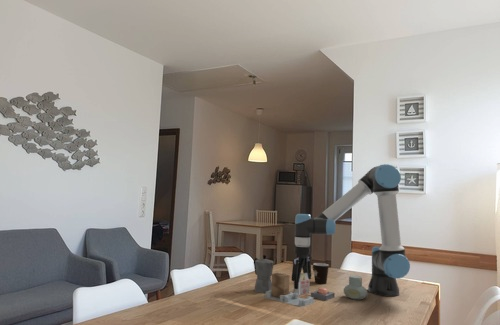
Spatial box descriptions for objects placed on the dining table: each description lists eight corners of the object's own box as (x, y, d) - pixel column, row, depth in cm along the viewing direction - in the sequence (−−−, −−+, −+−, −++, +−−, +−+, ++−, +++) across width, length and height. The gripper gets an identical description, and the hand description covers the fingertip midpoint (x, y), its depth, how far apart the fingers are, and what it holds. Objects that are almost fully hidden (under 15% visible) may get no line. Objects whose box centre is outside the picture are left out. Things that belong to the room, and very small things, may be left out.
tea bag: (293, 294, 175) (294, 273, 176) (303, 293, 179) (304, 272, 180) (299, 296, 172) (299, 274, 173) (309, 294, 176) (309, 273, 177)
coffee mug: (329, 284, 200) (330, 266, 201) (314, 284, 200) (314, 265, 201) (325, 280, 212) (326, 262, 213) (311, 279, 212) (311, 261, 213)
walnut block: (288, 297, 166) (289, 275, 167) (284, 299, 163) (284, 276, 164) (276, 294, 171) (276, 272, 172) (271, 296, 167) (271, 274, 168)
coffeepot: (279, 295, 174) (280, 256, 176) (263, 297, 169) (264, 257, 171) (260, 287, 187) (262, 252, 189) (245, 289, 182) (246, 252, 184)
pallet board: (316, 303, 162) (316, 296, 162) (302, 309, 153) (302, 302, 153) (277, 294, 175) (277, 288, 175) (262, 299, 166) (262, 292, 166)
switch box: (334, 299, 170) (334, 292, 171) (326, 302, 164) (326, 295, 165) (319, 296, 175) (319, 289, 176) (310, 299, 169) (311, 292, 169)
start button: (328, 297, 170) (328, 288, 171) (324, 299, 167) (324, 290, 167) (320, 296, 173) (321, 287, 173) (316, 297, 170) (317, 288, 170)
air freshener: (369, 298, 175) (369, 276, 176) (364, 302, 168) (365, 279, 169) (346, 294, 181) (346, 273, 182) (341, 298, 174) (341, 276, 175)
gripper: (306, 243, 188) (305, 289, 186) (284, 246, 173) (283, 296, 170) (319, 245, 184) (318, 291, 182) (298, 248, 168) (297, 299, 166)
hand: (301, 294), depth 176 cm, fingers closed on tea bag, 7 cm apart
